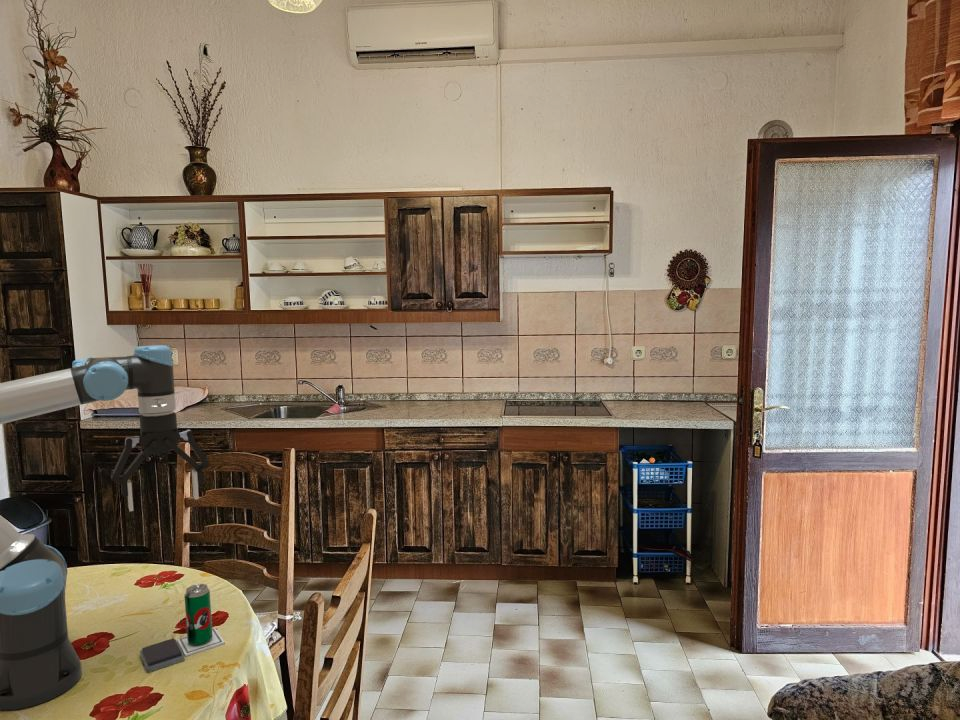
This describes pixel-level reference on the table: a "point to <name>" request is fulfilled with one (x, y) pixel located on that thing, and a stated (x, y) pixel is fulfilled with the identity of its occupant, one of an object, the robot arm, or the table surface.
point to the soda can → (198, 614)
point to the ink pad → (161, 655)
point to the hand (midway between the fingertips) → (164, 503)
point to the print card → (191, 649)
